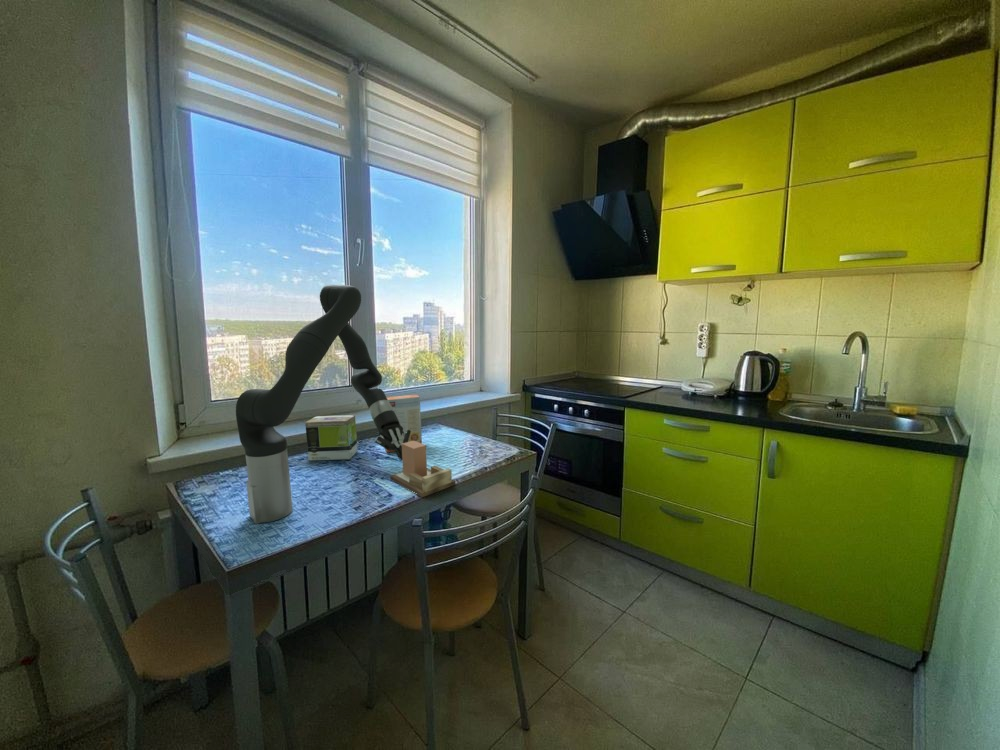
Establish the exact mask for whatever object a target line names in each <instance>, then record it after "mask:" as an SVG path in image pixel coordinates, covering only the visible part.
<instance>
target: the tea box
mask: <svg viewBox="0 0 1000 750" xmlns="http://www.w3.org/2000/svg"><path fill="white" fill-rule="evenodd" d="M304 424H305V425H304V426H305V435H306V447H307V448H306V449H307V456H308V461H334V460H335V461H336V460H339V461H340V460H350V459H352V458H353V456H354V455H355V454H357V452H358V437H357V425H356V414H347V415H346V414H345V415H344V414H343V415H341V414H339V415H319V416H318V415H317V416H314V417H312V418H311V419H309V420H307V421H305V422H304Z"/></svg>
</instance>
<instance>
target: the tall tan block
mask: <svg viewBox="0 0 1000 750" xmlns="http://www.w3.org/2000/svg"><path fill="white" fill-rule="evenodd" d="M427 460H428V459H427V445H426V444H424V443H422V444H421V443H419V442H416V441H410V442H406V443H402V460H401V461H402V462H401V463H402V472H403V474H405V475H407V476H409V474H410V473H413V472H414V473H416V474H418V475H420V476H422V477H424V476H427V468H428V467H427V466H428V463H427Z"/></svg>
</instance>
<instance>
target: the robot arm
mask: <svg viewBox="0 0 1000 750" xmlns="http://www.w3.org/2000/svg"><path fill="white" fill-rule="evenodd" d="M319 302H320V306H321V307H322V310H323V311H324V313H325V314H323V315H322V316H319V317H318V318H317V319H314V320H313V321H311V322H309V323H308V324H306V325H305V326H303V327H302V328H301V329H299V331H298V332H297V333H296V334H295V336H294V337H293V338H292V340H291V341H290V342H289V343H288V345H287V347H286V351H285V361H284V362H285V363H284V364H285V367H284V370H283V373H282V374H281V376H280V377H279V379H278V381H277V382H276V383H275V384H274V385H273V387H271V388H270V389H262V388H251V389H247V390H245V391H243V392H242V393H241V394H240V395H239V397H238V398H237V400H236V403H235V405H236V406H235V417H236V424H237V430H238V435H239V441H240V444H241V445H242V447H243V449H244V453H245V462H246V473H247V481H246V493H247V502H248V503H247V504H248V511H249V516H250V518H251V520H252V522H254V524H255V525H257V524H261V523H268V522H269V523H270V522H274V521H277V520H280V519H283V518H285V517H287V516H288V515H290V514H292V511H293V499H292V498H293V497H292V489H291V488H292V487H291V476H290V465H289V464H290V463H289V452H288V442H287V439H286V437H285V436H284V435H282V434H281V433H279V432H278V431H277V430H276V429H275V428H274V427H277V426H278V427H279V426H280V425H282V424H283V423H284V422H285V421H287V419H288V418H289V416H290V415H291V413H292V411H293V410H294V408H295V406H296V404H297V402H298V400H299V397H300V396H301V394H302V392H303V390H304V388H305V387H306V385H307V383H308V381H309V380H310V378H311V376H312V375H313V373H314V371H315V370H316V368H317V367H318V366H319V365H320V363H322V362H321V361H322V360H323V359H324V357H325V356H326V354H327V352H329V351H328V350H329V349H330V348H331V346H332V344H333V343H334V341H335V340H336V338H337V337H338V338H339V339H340V342H341V343H342V346H343V349H344V351H345V353H346V355H347V359H348V362H349V364H350V366H351V368H352V369H353V370H357V371H358V370H362V371H358V372H355V373H354V374H352V376H351V377H350V378H351V379H350V383H351V386H352V387H353V389H354V390H355V391H356V392H357V393H358V394H359V395H360V396H361V397H362V398H363V399H364V401H365V403H366V405H367V407H368V411H369V412H370V416H371V418H372V420H373V423H374V425H375V427H376V429H377V430H378V436H377V438H376V440H375V444H377V445H379V446H380V447H383V449H387V450H389V451H391V450H394V453H395V454H396V456H397V458H398V459H399V461H402V443H406V442H408V440H409V436H410V433H411V431H410V430H404V429H403V427H402V426H400V423H399V420H398V418H397V416H396V414H395V412H394V410H393V408H392V406H391V405H390V403H389V402H388V400H387V398H386V397H387V396H386V394H385V392H384V390H383V389H382V388H375V387H378V386H380V385H381V384H382V382H383V377H382V374H381V372H380V371H379V370H378V368H377V367H376V366H375V364H374V363H373V361H372V359H371V356H370V352H369V350H368V347H367V345H366V341H364V339H363V338H362V337H361V335H360V334H359V333H358V332H357V331H356V330H355V328H353V326H352V325H351V324H350V323H349V322H350V321H351V319H352V318H353V317H354V316H355V315H356V314H357V312H358V310H359V309H360V307H361V304H362V294H361V292H360V290H359V288H357V287H356V286H353V285H349V284H329V285H328V284H327V285H325V286H323V287H322V288H321V290H320V292H319ZM402 433H403V437H404V440H403V441H402Z"/></svg>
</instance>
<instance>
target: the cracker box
mask: <svg viewBox="0 0 1000 750" xmlns="http://www.w3.org/2000/svg"><path fill="white" fill-rule="evenodd" d="M386 398H387V400H388V402H389V403H390V405H391V406H392V408H393V410H394V412H395V414H396V416H397V418H398V420H399V423H400V426H402V427H403V429H404V430H410V431H411V433H410V436H409V440H408V442H410V441H416V442H419V443H421V444H423V441H422V440H423V439H422V416H421V415H422V414H421V398H420V396H419V395H418V394H409V395H408V394H407V395H398V396H395V395H394V396H386ZM403 440H404V437H403V433H402V441H403ZM384 449H385V448H384ZM385 452H386V453H392V452H394V453H395V451H394V450H391V451H389V450H387V449H385Z"/></svg>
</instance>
